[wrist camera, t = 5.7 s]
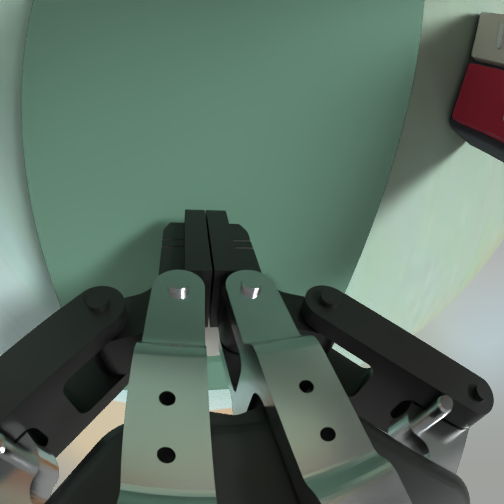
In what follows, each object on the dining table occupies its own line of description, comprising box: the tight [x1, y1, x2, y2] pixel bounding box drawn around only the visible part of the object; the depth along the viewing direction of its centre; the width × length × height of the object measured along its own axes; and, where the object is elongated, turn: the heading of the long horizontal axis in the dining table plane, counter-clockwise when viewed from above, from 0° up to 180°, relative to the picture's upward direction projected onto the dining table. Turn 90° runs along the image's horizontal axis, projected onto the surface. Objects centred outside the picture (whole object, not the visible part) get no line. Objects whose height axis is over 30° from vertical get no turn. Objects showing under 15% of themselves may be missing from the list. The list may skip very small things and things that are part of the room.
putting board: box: [21, 0, 424, 390], centre depth 13 cm, size 16×28×3 cm, turn 173°
